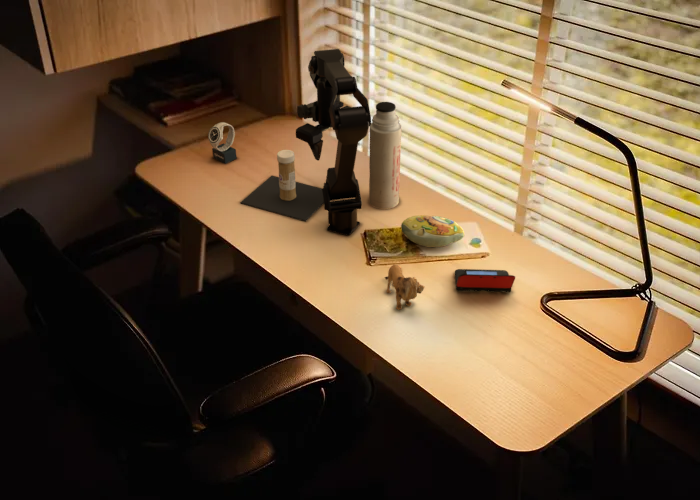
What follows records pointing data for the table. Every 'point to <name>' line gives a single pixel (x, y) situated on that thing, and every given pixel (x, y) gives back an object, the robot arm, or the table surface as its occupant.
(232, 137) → the watch
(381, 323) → the table surface
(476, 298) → the table surface
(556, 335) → the table surface
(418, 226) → the cell model
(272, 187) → the desk mat
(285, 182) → the sprinkles bottle
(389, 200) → the thermos bottle
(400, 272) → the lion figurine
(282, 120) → the table surface
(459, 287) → the handheld console
